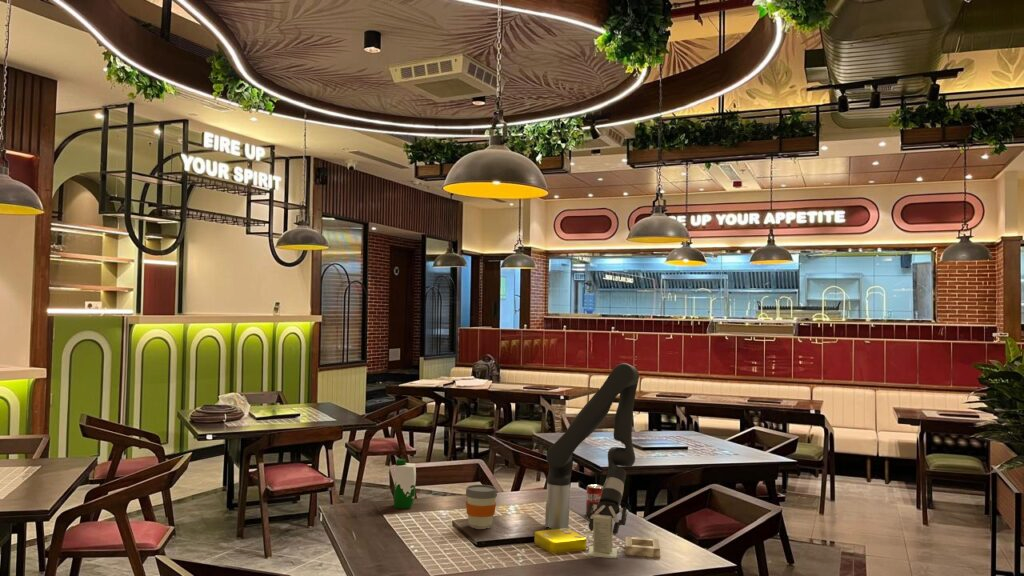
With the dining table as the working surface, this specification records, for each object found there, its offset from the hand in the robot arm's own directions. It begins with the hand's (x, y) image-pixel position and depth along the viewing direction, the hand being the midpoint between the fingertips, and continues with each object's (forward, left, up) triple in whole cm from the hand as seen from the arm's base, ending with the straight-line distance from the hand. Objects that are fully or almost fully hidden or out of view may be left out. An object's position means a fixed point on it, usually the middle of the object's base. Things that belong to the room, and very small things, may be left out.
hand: (602, 531), depth 254 cm
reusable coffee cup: (-49, +22, -8) cm, 54 cm away
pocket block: (+14, +7, -8) cm, 18 cm away
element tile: (-15, +6, -8) cm, 18 cm away
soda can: (-5, +54, -8) cm, 55 cm away
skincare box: (0, +1, -7) cm, 7 cm away
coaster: (0, +1, -8) cm, 8 cm away
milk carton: (-87, +43, -8) cm, 97 cm away
